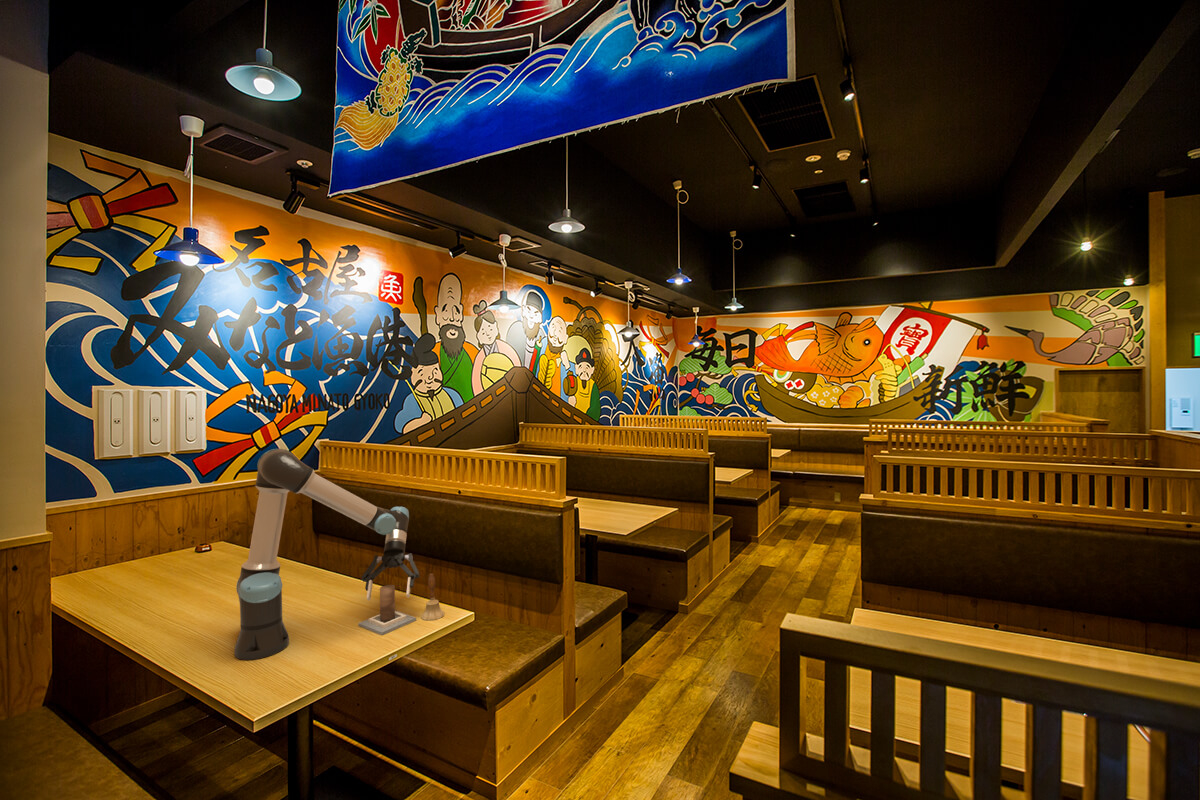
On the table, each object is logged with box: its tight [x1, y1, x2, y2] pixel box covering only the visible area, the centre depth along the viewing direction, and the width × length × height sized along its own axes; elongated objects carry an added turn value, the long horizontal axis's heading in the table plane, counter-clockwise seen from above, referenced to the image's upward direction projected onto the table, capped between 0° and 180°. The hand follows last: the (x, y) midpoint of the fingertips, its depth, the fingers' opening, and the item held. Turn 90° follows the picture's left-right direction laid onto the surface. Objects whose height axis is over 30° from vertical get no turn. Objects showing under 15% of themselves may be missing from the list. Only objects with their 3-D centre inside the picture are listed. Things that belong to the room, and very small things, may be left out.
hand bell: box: [421, 573, 445, 621], centre depth 198 cm, size 8×8×16 cm
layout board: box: [358, 609, 417, 636], centre depth 192 cm, size 14×14×2 cm
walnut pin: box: [379, 584, 396, 623], centre depth 192 cm, size 5×5×12 cm
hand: (388, 597), depth 192 cm, fingers open, 13 cm apart
